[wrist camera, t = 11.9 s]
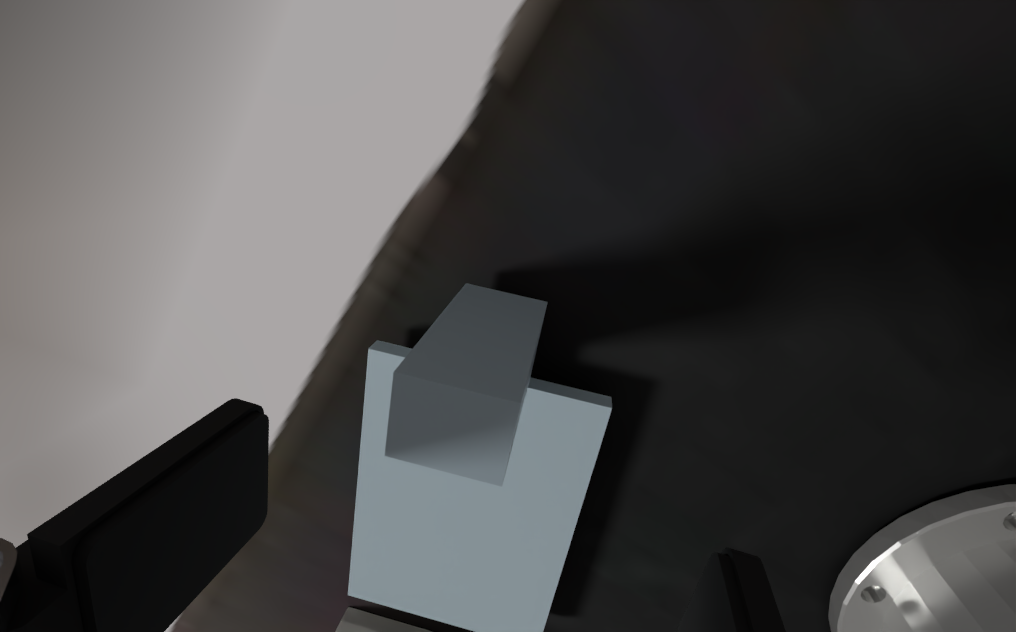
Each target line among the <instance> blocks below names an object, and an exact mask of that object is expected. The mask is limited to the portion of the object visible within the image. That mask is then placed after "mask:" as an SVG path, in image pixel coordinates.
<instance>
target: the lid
mask: <svg viewBox="0 0 1016 632" xmlns="http://www.w3.org/2000/svg"><path fill="white" fill-rule="evenodd" d="M547 303H548V302H545V301H541V300H537V299H532V298H528V297H524V296H519V295H515V294H511V293H506V292H502V291H498V290H493V289H489V288H484V287H480V286H476V285H471V284H467V283H466V284H465V285H464V286H463V288H462V289H461V290H460V291H459V293H458V294H457V295H456V296H455V297H454V299H453V300H452V301H451V302H450V304H449V305H448V306H447V307H446V308H445V310H444V311H443V312H442V313H441V315H440V316H439V317H438V318H437V319H436V321H435V322H434V323H433V324H432V326H431V327H430V328H429V329H428V330H427V332H426V333H425V334H424V335H423V337H422V338H421V339H420V340H419V341H418V343H417V344H416V345H415V346H414V348H413V349H411V348H407V347H403V346H399V345H395V344H391V343H387V342H383V341H378V340H377V341H376V342H375V343H374V344H373V345H372V346H371V347H370V348H369V350H368V362H367V374H366V386H365V398H364V410H363V422H362V433H361V445H360V457H359V469H358V481H357V493H356V505H355V517H354V529H353V540H352V552H351V564H350V576H349V588H348V595H349V596H353V597H356V598H360V599H363V600H367V601H370V602H374V603H377V604H381V605H384V606H388V607H391V608H395V609H398V610H401V611H405V612H408V613H412V614H415V615H419V616H422V617H426V618H429V619H433V620H436V621H440V622H443V623H447V624H450V625H453V626H457V627H460V628H464V629H467V630H471V631H474V632H543V630H544V627H545V624H546V620H547V617H548V614H549V611H550V607H551V604H552V601H553V598H554V595H555V591H556V588H557V585H558V582H559V578H560V575H561V572H562V569H563V565H564V562H565V559H566V556H567V553H568V549H569V546H570V543H571V540H572V536H573V533H574V530H575V527H576V523H577V520H578V517H579V514H580V510H581V507H582V504H583V501H584V498H585V494H586V491H587V488H588V485H589V481H590V478H591V475H592V472H593V468H594V465H595V462H596V459H597V456H598V452H599V449H600V446H601V443H602V439H603V436H604V433H605V430H606V426H607V423H608V420H609V417H610V414H611V410H612V399H611V397H609V396H605V395H601V394H597V393H593V392H589V391H584V390H580V389H576V388H572V387H568V386H564V385H560V384H556V383H552V382H547V381H543V380H539V379H535V378H531V373H532V368H533V364H534V359H535V355H536V351H537V346H538V342H539V338H540V333H541V329H542V325H543V320H544V316H545V311H546V307H547Z"/></svg>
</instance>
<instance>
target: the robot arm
mask: <svg viewBox="0 0 1016 632" xmlns="http://www.w3.org/2000/svg"><path fill="white" fill-rule="evenodd" d="M268 431H269V420H268V417H267V415H265V414H264V411H263V408H262V407H261V406H259V405H256V404H253V403H250V402H246V401H243V400H240V399H231V400H229V401H227V402H226V403H224V404H223V405H221V406H220V407H218V408H217V409H215V410H214V411H212V412H211V413H209V414H208V415H206V416H205V417H203V418H202V419H201V420H199V421H197V422H196V423H194V424H193V425H191V426H190V427H188V428H187V429H185V430H184V431H182V432H181V433H179V434H178V435H176V436H174V437H173V438H172V439H170V440H168V441H167V442H166V443H164V444H162V445H161V446H160V447H158V448H156V449H155V450H154V451H152V452H150V453H149V454H147V455H146V456H144V457H143V458H141V459H140V460H139V461H137V462H135V463H134V464H132V465H131V466H129V467H128V468H126V469H125V470H123V471H122V472H120V473H119V474H117V475H116V476H114V477H113V478H111V479H110V480H108V481H107V482H105V483H104V484H102V485H101V486H99V487H98V488H96V489H95V490H93V491H92V492H90V493H89V494H87V495H86V496H84V497H83V498H81V499H80V500H78V501H77V502H75V503H74V504H72V505H71V506H69V507H68V508H66V509H65V510H63V511H62V512H60V513H58V514H57V515H56V516H54V517H53V518H51V519H49V520H48V521H46V522H45V523H43V524H42V525H40V526H39V527H37V528H36V529H34V530H33V531H32V532H30V533H28V534H27V536H28V540H27V541H25V542H24V543H22V544H21V545H19V546H18V547H16V548H15V547H14V545H13V543H11V542H9V541H6V540H5V539H2V538H0V632H164V631H165V630H166V629H167V628H168V627H169V625H170V624H172V623H173V621H174V620H175V619H176V618H177V617H178V616H179V615H180V614H181V613H182V612H183V611H184V610H185V609H186V607H187V606H188V605H189V604H190V603H191V602H192V601H193V600H194V599H195V598H196V597H197V596H198V595H199V593H200V592H201V591H202V590H203V589H204V588H205V587H206V586H207V585H208V584H209V583H210V582H211V581H212V579H213V578H214V577H215V576H216V575H217V574H218V573H219V572H220V571H221V570H222V569H223V568H224V567H225V565H226V564H227V563H228V562H229V561H230V560H231V559H232V558H233V557H234V556H235V555H236V554H237V553H238V551H239V550H240V549H241V548H242V547H243V546H244V545H245V544H246V543H247V542H248V541H249V540H250V539H251V537H252V536H253V535H254V534H255V533H256V532H257V531H258V530H259V529H260V527H261V526H262V524H263V523H264V520H265V518H266V515H267V502H268V436H269V435H268V434H269V432H268ZM828 618H829V623H830V628H831V632H1016V484H1007V485H1001V486H996V487H990V488H984V489H978V490H972V491H967V492H964V493H960V494H957V495H954V496H951V497H947V498H944V499H941V500H938V501H934V502H931V503H929V504H927V505H925V506H923V507H921V508H919V509H916V510H914V511H912V512H910V513H908V514H906V515H903V516H901V517H900V518H898V519H897V520H895V521H894V522H892V523H891V524H889V525H888V526H886V527H885V528H883V529H881V530H880V531H878V532H877V533H875V534H874V535H873V536H872V537H871V538H870V539H869V540H868V541H867V542H866V543H865V544H864V545H863V546H861V547H860V548H859V549H858V550H857V551H856V552H855V553H854V554H853V555H852V557H851V558H850V560H849V561H848V562H847V564H846V565H845V567H844V568H843V570H842V571H841V572H840V574H839V576H838V578H837V581H836V583H835V586H834V588H833V591H832V594H831V596H830V606H829V616H828ZM676 632H786V631H785V628H784V625H783V622H782V620H781V617H780V614H779V611H778V608H777V605H776V602H775V599H774V596H773V593H772V590H771V587H770V584H769V581H768V578H767V575H766V572H765V569H764V567H763V564H762V562H761V560H760V559H759V558H758V557H757V556H754V555H750V554H747V553H744V552H740V551H737V550H734V549H731V548H725V549H724V550H723V551H722V553H721V554H719V553H716V552H714V553H713V554H712V555H711V556H710V558H709V561H708V563H707V565H706V567H705V569H704V572H703V574H702V576H701V578H700V580H699V582H698V585H697V587H696V589H695V591H694V593H693V596H692V598H691V600H690V602H689V604H688V607H687V609H686V611H685V613H684V615H683V617H682V620H681V622H680V624H679V626H678V628H677V631H676Z"/></svg>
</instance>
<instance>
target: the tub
mask: <svg viewBox="0 0 1016 632" xmlns="http://www.w3.org/2000/svg"><path fill="white" fill-rule="evenodd" d="M335 632H433V631H429V630H426V629H422V628H419V627H416V626H412V625H409V624H406V623H402V622H399V621H395V620H392V619H389V618H385V617H382V616H378V615H375V614H372V613H368V612H365V611H361V610H358V609H355V608H351V607H348V608H347V610H346V612H345V614H344V616H343V618H342V620H341V622H340V623H339V625H338V627H337V629H336V631H335Z"/></svg>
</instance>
